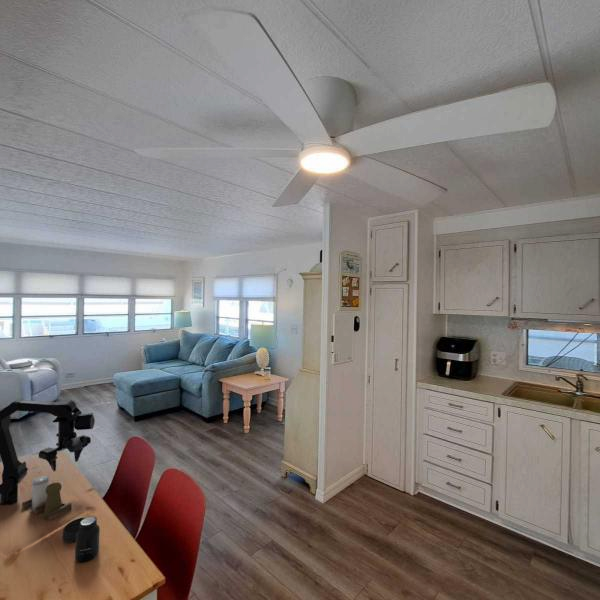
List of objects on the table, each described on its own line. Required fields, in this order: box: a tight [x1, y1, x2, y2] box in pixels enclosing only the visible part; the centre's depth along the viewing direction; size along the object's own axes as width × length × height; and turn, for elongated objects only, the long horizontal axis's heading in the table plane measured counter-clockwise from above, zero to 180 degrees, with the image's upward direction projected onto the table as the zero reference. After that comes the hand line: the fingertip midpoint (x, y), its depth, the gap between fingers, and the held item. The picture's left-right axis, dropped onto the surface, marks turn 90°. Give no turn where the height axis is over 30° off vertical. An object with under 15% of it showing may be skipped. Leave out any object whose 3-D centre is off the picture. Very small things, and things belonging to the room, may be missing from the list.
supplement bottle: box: [74, 515, 101, 564], centre depth 111 cm, size 7×7×12 cm
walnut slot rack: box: [21, 497, 72, 522], centre depth 134 cm, size 19×8×3 cm, turn 66°
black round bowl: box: [62, 517, 85, 543], centre depth 121 cm, size 9×9×4 cm
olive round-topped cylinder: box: [44, 481, 63, 516], centre depth 133 cm, size 6×6×11 cm
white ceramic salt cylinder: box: [31, 475, 50, 510], centre depth 136 cm, size 6×6×11 cm
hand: (65, 466), depth 145 cm, fingers open, 9 cm apart
